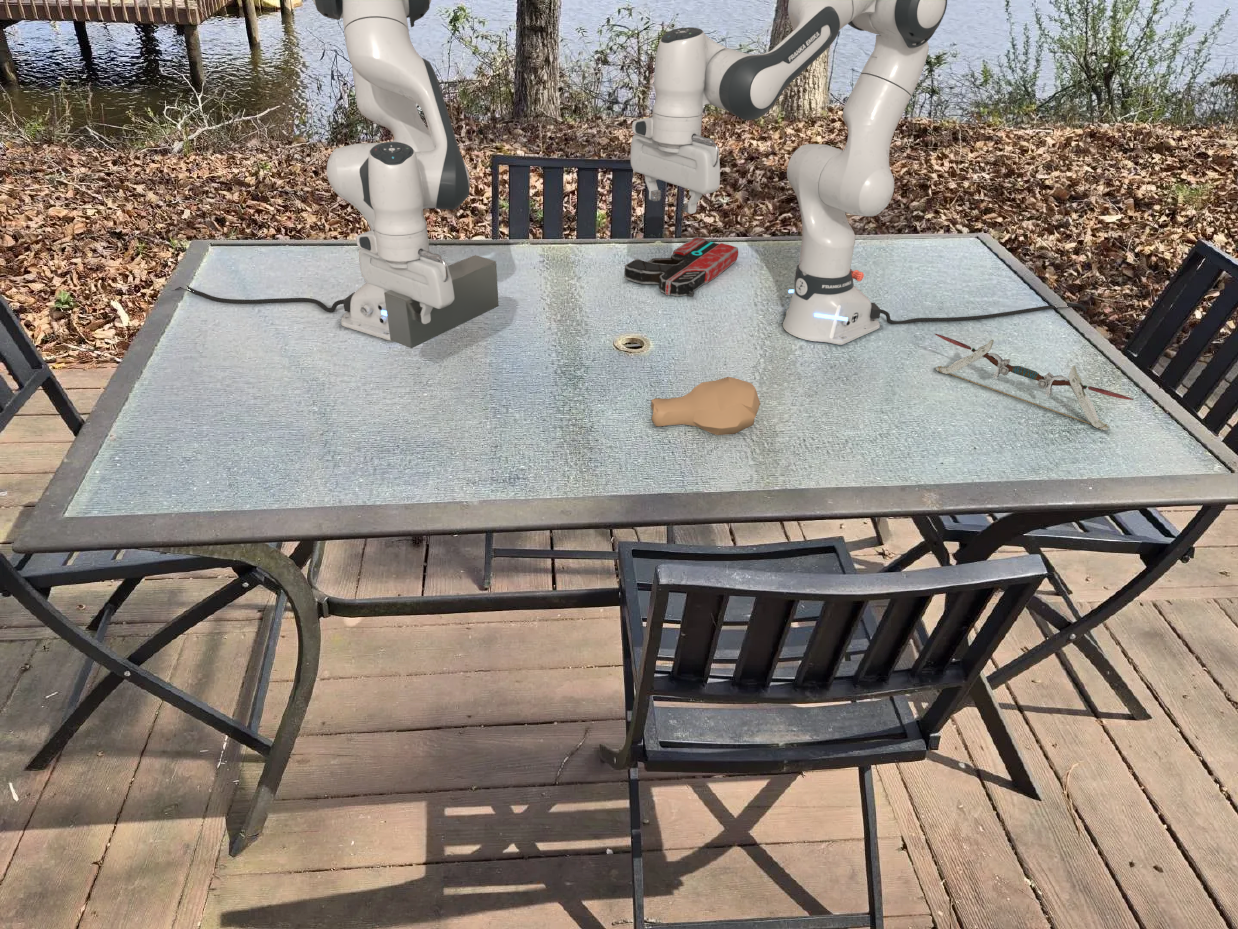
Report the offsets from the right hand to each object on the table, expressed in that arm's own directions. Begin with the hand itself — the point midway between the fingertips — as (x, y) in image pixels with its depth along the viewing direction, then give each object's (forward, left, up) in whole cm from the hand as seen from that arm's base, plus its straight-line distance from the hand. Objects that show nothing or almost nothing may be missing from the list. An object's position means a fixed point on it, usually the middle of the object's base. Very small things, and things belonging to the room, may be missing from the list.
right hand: (672, 206), depth 164 cm
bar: (+41, -13, -20) cm, 48 cm away
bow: (-55, +45, -33) cm, 78 cm away
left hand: (+49, -9, -16) cm, 53 cm away
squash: (+7, +25, -33) cm, 42 cm away
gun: (-31, -40, -33) cm, 61 cm away
